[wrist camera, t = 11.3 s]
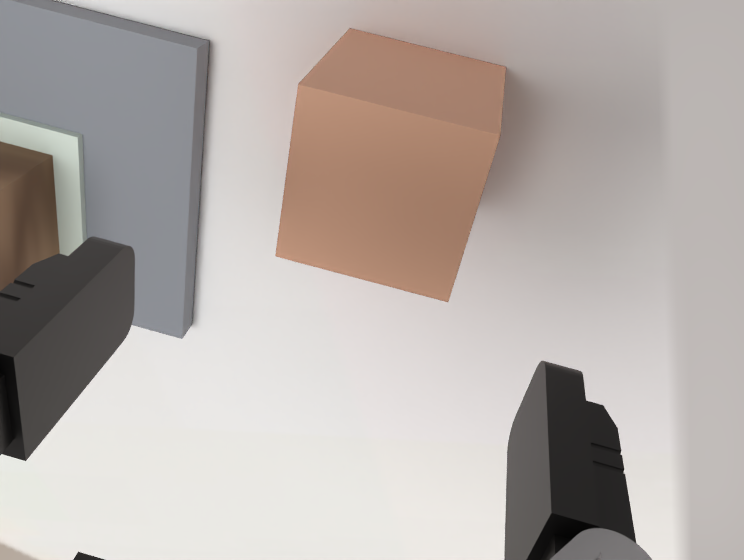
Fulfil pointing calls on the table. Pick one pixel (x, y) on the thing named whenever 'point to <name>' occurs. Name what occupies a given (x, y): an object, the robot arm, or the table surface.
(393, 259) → the terracotta block
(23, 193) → the walnut block
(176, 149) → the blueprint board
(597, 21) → the table surface
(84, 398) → the table surface
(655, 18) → the table surface
